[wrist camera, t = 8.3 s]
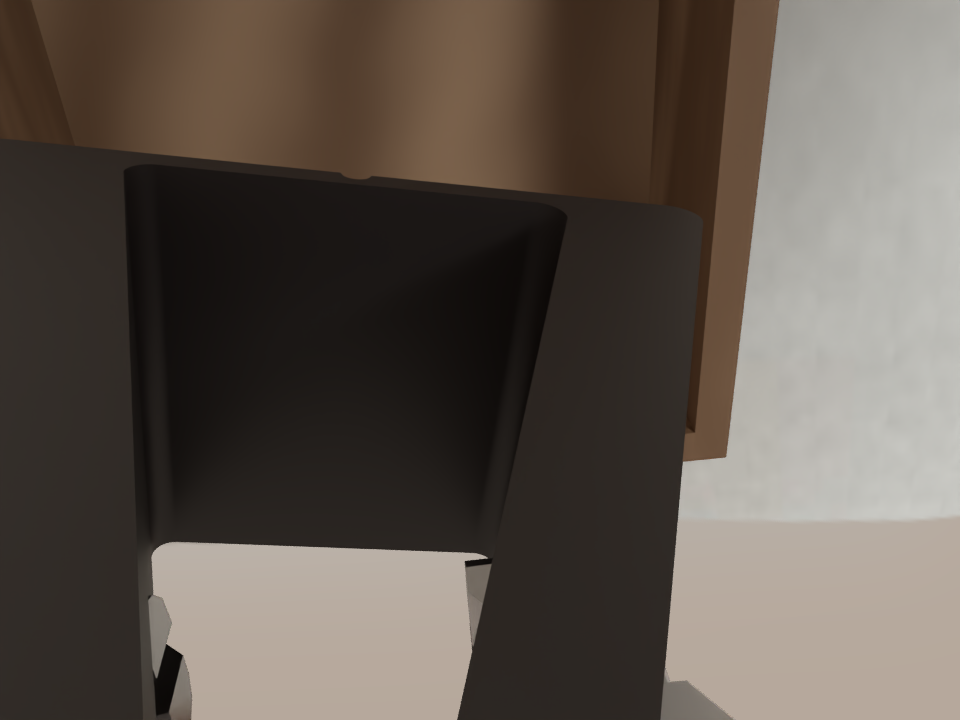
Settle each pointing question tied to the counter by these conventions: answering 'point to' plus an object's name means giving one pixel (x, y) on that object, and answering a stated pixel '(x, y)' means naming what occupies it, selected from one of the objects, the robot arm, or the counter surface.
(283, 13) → the walnut box
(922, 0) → the counter surface
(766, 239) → the counter surface
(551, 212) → the phone stand
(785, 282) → the counter surface
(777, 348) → the counter surface
